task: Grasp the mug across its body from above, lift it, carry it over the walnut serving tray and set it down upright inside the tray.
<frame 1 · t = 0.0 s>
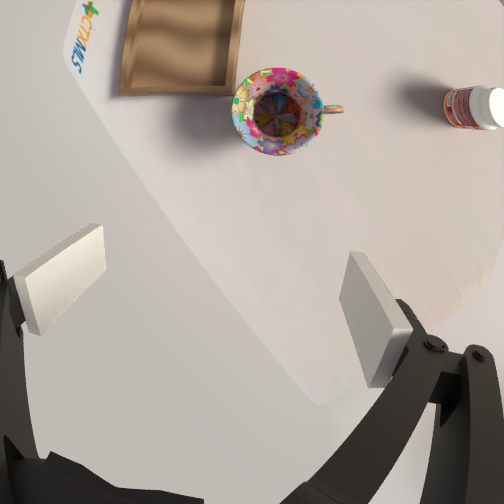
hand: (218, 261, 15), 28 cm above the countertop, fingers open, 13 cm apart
pill bottle: (457, 108, 35), on the countertop
mug: (286, 115, 38), on the countertop
tray: (185, 31, 34), on the countertop
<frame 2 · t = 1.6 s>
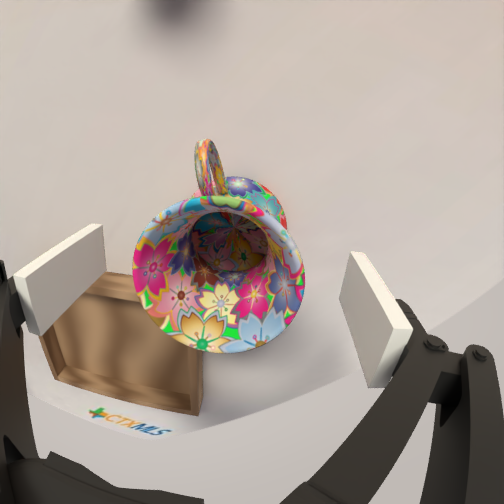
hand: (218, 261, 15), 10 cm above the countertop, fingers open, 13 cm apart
mug: (232, 209, 25), on the countertop
tray: (117, 334, 31), on the countertop
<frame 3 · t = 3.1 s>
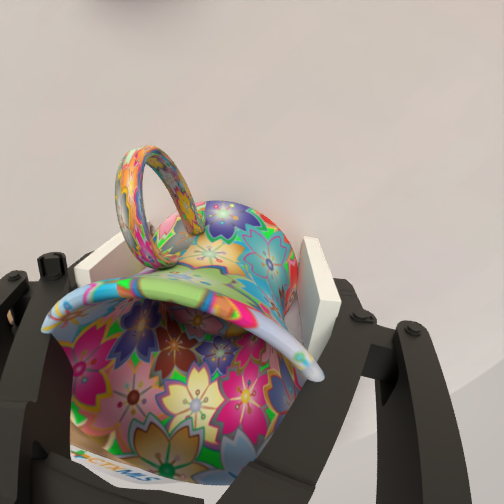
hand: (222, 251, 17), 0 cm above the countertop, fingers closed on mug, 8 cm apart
mug: (218, 246, 17), on the countertop, touching gripper
tray: (86, 387, 23), on the countertop
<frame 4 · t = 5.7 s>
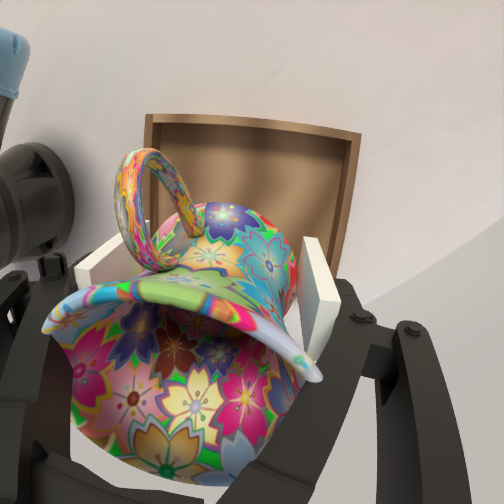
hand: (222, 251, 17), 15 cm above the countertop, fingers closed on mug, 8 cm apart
mug: (218, 248, 17), point 14 cm above the countertop, touching gripper
tray: (246, 196, 31), on the countertop
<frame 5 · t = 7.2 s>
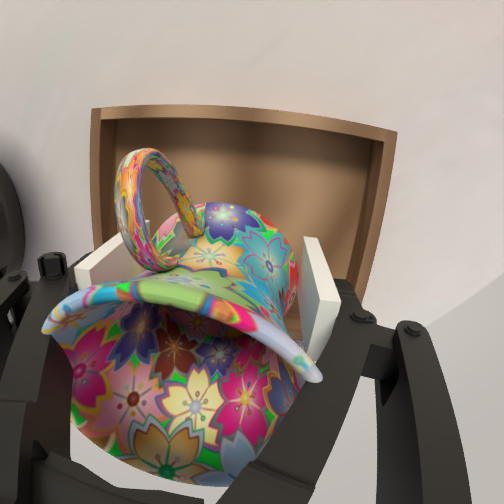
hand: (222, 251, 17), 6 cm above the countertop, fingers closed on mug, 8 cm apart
mug: (218, 248, 17), point 5 cm above the countertop, touching gripper
tray: (232, 218, 22), on the countertop
when the fingers open (2 cm above the countertop, at t = 8.4 s): mug drops 1 cm, resting on tray.
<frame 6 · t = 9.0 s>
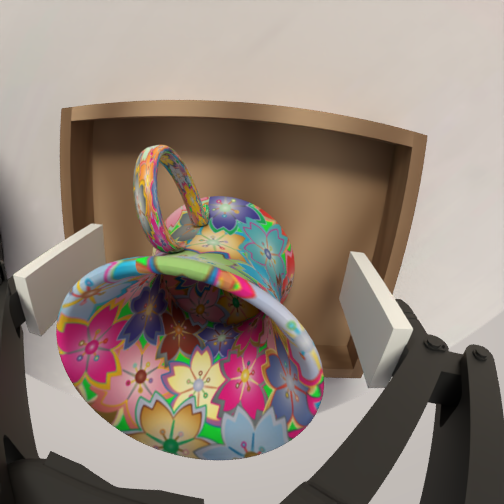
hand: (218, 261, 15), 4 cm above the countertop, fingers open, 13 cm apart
mug: (220, 239, 18), resting on tray
tray: (228, 237, 19), on the countertop
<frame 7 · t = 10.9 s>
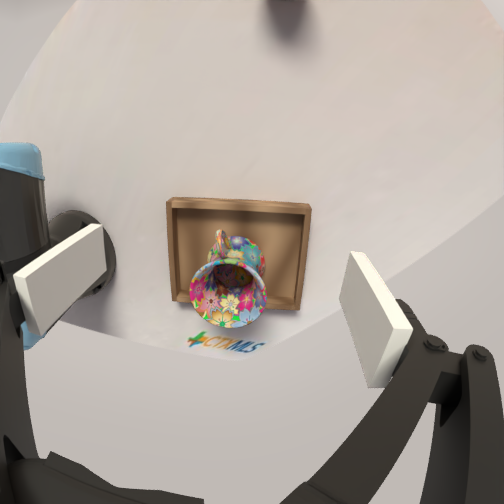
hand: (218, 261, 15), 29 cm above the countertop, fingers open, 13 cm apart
mug: (235, 252, 46), resting on tray
tray: (237, 250, 46), on the countertop
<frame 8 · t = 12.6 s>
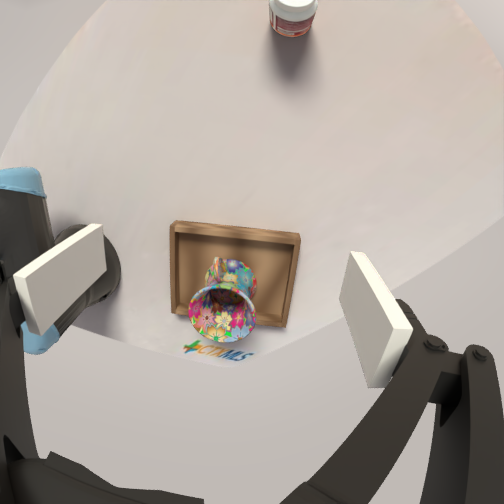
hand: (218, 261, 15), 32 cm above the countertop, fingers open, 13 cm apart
pill bottle: (290, 21, 35), on the countertop
mug: (230, 272, 50), resting on tray
tray: (232, 271, 51), on the countertop
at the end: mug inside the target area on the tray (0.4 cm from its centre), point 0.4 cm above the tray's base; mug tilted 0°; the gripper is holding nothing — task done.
